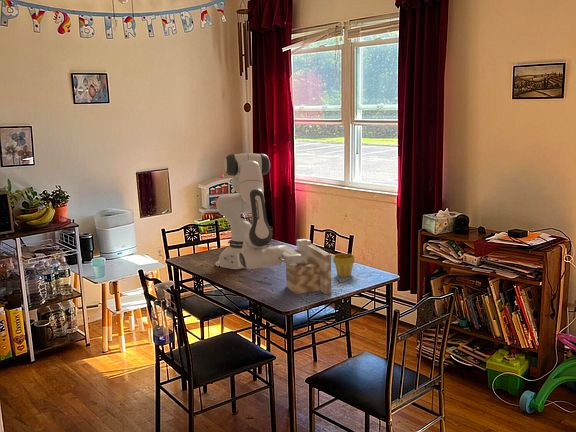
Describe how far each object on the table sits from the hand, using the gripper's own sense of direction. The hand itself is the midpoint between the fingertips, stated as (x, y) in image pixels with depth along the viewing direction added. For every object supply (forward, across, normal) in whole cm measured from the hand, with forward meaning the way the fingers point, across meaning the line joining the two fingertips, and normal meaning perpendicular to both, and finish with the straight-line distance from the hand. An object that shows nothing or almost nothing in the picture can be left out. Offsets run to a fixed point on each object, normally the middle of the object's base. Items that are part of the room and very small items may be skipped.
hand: (303, 252), depth 264 cm
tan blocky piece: (+1, 0, +17) cm, 17 cm away
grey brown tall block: (-1, 0, +8) cm, 8 cm away
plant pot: (+25, +10, +17) cm, 32 cm away
